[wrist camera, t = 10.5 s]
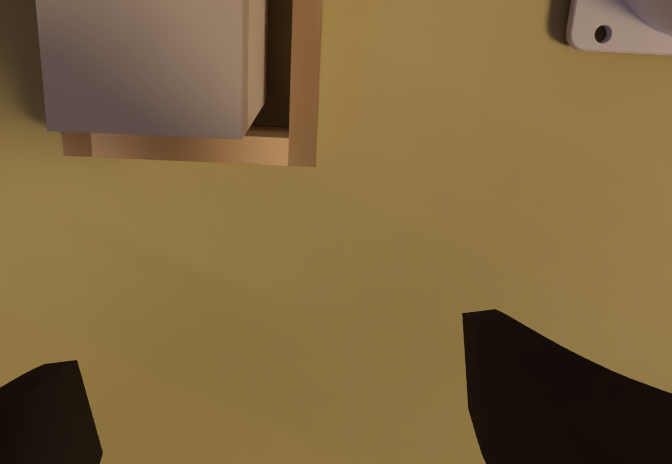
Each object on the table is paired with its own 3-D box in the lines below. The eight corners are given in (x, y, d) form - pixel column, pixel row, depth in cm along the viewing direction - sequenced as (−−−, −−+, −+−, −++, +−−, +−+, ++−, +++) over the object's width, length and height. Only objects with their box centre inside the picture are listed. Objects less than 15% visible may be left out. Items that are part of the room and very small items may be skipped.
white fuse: (268, -38, 19) (243, -70, 12) (266, 100, 20) (241, 139, 13) (131, -47, 19) (27, -84, 12) (136, 93, 20) (46, 130, 13)
